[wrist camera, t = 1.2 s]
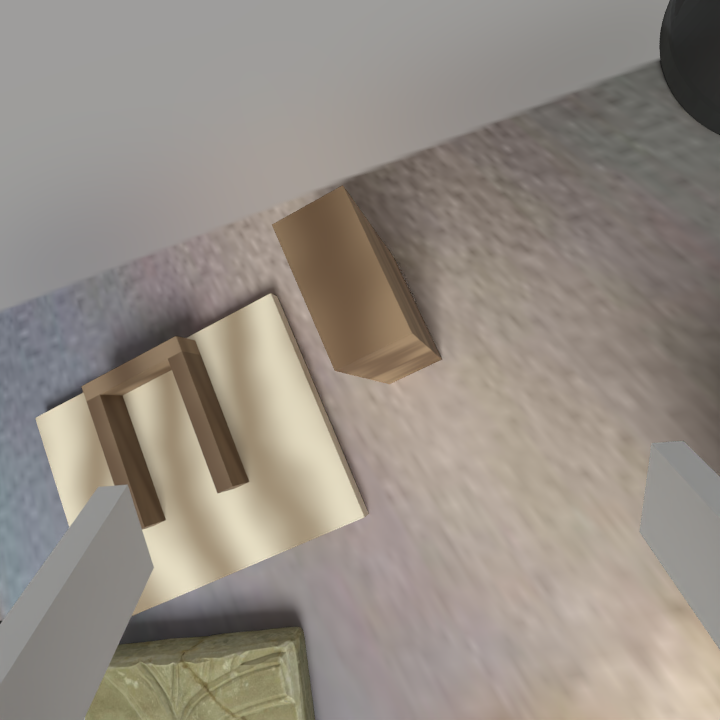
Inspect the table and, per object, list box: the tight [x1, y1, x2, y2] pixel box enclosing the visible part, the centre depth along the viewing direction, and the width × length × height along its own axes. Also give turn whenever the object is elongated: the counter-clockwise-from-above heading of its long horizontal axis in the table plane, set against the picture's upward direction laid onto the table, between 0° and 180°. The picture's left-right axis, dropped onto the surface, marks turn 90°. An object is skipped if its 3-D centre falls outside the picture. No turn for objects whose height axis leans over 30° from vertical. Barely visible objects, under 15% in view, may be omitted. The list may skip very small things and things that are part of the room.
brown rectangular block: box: [272, 185, 442, 384], centre depth 32 cm, size 4×8×13 cm, turn 24°
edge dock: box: [36, 293, 369, 616], centre depth 40 cm, size 22×17×4 cm
